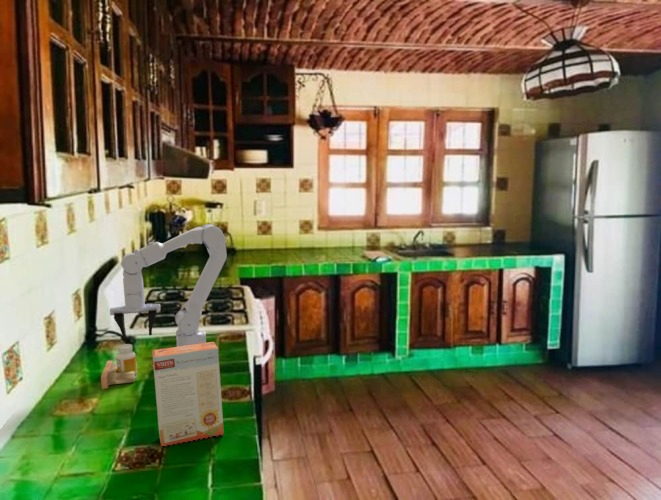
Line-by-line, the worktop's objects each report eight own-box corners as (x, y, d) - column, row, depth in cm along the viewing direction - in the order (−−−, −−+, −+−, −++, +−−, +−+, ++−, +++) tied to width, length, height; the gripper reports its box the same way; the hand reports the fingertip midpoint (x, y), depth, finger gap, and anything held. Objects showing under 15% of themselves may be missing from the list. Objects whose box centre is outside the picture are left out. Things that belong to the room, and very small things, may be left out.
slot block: (137, 370, 174) (136, 361, 174) (134, 381, 164) (133, 373, 164) (112, 372, 172) (112, 364, 172) (108, 384, 163) (107, 375, 162)
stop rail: (113, 371, 174) (112, 360, 174) (107, 388, 161) (106, 376, 160) (108, 371, 174) (107, 360, 173) (101, 388, 160) (100, 377, 160)
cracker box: (219, 425, 136) (214, 340, 133) (224, 436, 130) (219, 347, 127) (158, 436, 131) (151, 348, 128) (160, 448, 125) (153, 356, 122)
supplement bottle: (140, 374, 171) (138, 343, 170) (132, 381, 166) (129, 348, 164) (123, 374, 172) (120, 342, 170) (114, 381, 166) (111, 348, 165)
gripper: (107, 297, 169) (110, 341, 171) (158, 293, 172) (161, 337, 174) (110, 292, 176) (113, 335, 178) (159, 288, 179) (162, 330, 181)
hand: (137, 335), depth 176 cm, fingers open, 7 cm apart
